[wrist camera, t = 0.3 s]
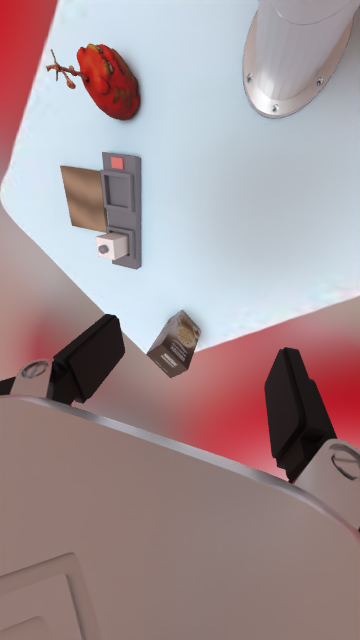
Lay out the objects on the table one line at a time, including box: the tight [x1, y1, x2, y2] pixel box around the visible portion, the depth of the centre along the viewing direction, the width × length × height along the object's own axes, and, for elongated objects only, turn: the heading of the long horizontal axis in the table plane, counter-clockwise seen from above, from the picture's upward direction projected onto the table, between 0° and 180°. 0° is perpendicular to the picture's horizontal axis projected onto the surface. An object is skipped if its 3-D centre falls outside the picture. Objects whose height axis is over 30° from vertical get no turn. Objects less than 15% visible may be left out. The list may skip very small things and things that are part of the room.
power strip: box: [100, 152, 141, 269], centre depth 41 cm, size 22×7×4 cm, turn 173°
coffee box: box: [146, 310, 201, 378], centre depth 49 cm, size 9×6×16 cm
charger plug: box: [96, 232, 130, 260], centre depth 41 cm, size 4×4×8 cm
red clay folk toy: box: [46, 44, 140, 120], centre depth 26 cm, size 8×7×15 cm
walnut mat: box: [60, 166, 108, 233], centre depth 43 cm, size 12×10×1 cm
